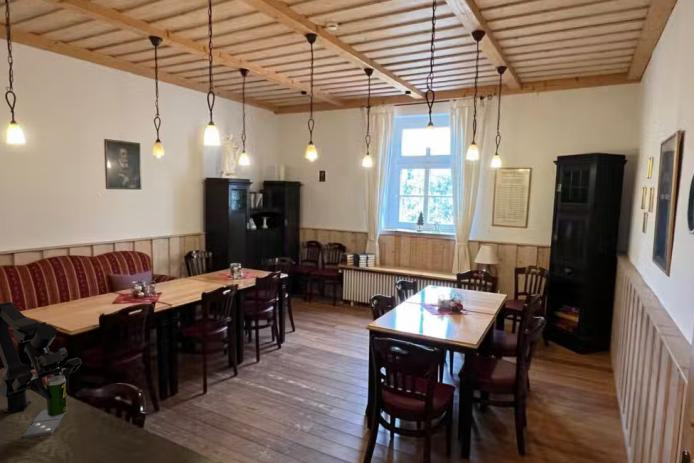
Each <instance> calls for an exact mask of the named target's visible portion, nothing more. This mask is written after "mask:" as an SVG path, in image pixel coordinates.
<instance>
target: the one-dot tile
mask: <svg viewBox="0 0 694 463" xmlns="http://www.w3.org/2000/svg"><path fill="white" fill-rule="evenodd" d="M67 411H69V407H68V406H67ZM64 416H65V415H62V416H60V417H55V418H51V417H49V416H48V413H47V409H43V410H41V411H40V413H39V414H38V415H37V416H36V417H35V418H34V419H33V420H32V424H33V423H34V422H42V421H50V420H58V419H61V420H62V418H64Z"/></svg>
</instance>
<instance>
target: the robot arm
mask: <svg viewBox="0 0 694 463" xmlns="http://www.w3.org/2000/svg"><path fill="white" fill-rule="evenodd" d="M9 326H10V327H11V329H13V337H14V339H15V340H16V341H17V342H18V343H21V344H22V343H25V342H27V343H26V344H25V346H24V348H23V349H24V350H23V353H27V356H28V358H29V361H30V362H31V363H30V365H29V364H28V363H26V364H24V363H22V362H21V359H20V357H19V354H18V350H17V349H16V345H15V342H14V340H13V337H12V334H11V330H10V329H9ZM57 334H58V330H57V328H56V327H55V326H53V325H51V324H47V322H46V321H43V322H40V321H38V320H36V319H33V318H28V317H27V316H25V315H24V314H23V313H22V312H21V311H20V310H18V308H17V307H16V306H15V304H14V303H13V302H11V301H7V302H6V301H5V302H1V303H0V359H1V361H2V364H3V366H4V367H3V368H4V371H3V374H2V377H1V380H2V382H1V384H0V396H1V397H3V398H6V407H5V409H3V411H2V413H3V414H6V413H7V414H8V413H14V412H24V411H25V410H26V409H27V408H28V407H29V406H30V405H31V403H32V401H30V400H29V401H28V396H27V395H28V394H27V391H29V390H31V391H32V392H35V393H36V394H38V395H39V396H42V398H44V399H45V400H46V401H47V400H49V399H50V396H49V393H48V392H47V390H46V385H44V382H43V381H44V380H43V379H44V378H47V377H49V376H53V375H56V374H59V375H62V376H65V379H66V390H67V394H68V393H69V392H70V375H71V374H72V373H76V372H77V371H78V370H79V368H80V367H81V366H82V364H83V362H82V359H81V358H79V357H77V356H76V357H74V358H70V359H67V360H66V361H65V362H64V364H63V365H60V364H61V362H62V361H64V358H66V357H68V355H69V354H68V351H67V349H66V347H62V348H59V349H57V351H56V352H53V351H50V348H49V346H50V345H51V344H52V343H53V341H54V339H55V338H56V336H57ZM59 365H60V366H59ZM30 367H31V368H33V370H34V372H35V373H33V372H32V371H31V369H30Z"/></svg>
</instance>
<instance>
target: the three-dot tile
mask: <svg viewBox="0 0 694 463" xmlns="http://www.w3.org/2000/svg"><path fill="white" fill-rule="evenodd" d="M61 422H62V419H58V420H50V421H42V422H34V423H33V422H32V424H31V425H29V427H28V429H26V430H25V432H24V433H23V434H22V439H23V438H24V439H25V438H32V437H40V436H49V435H53V433H54V431H55V430H56V429H57V428H58V426H59V424H60V423H61Z"/></svg>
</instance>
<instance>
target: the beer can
mask: <svg viewBox="0 0 694 463" xmlns="http://www.w3.org/2000/svg"><path fill="white" fill-rule="evenodd" d="M45 388H46V390H47V392H48V393H49V396H50V399H49V400H47V399H46V408H47V409H46V410H47V413H48V416H49V417H51V418H55V417H60V416H62V415H64V414H65V415H66V414H67V412H68V410H67V407H68V397H67V396H68V395H67V394H68V393H67V390H66V379H65V376H62V375H60V374H59V375H54V376H53V375H52V376H51V377H48V378H47V379H46V383H45ZM65 415H64V416H65Z"/></svg>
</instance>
